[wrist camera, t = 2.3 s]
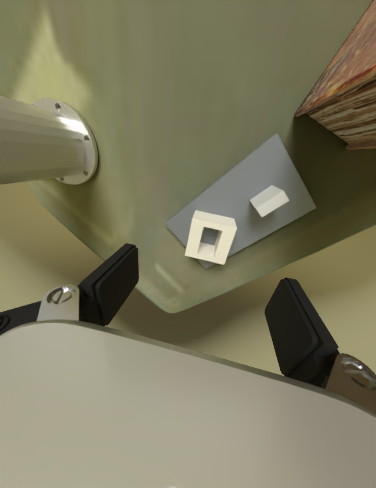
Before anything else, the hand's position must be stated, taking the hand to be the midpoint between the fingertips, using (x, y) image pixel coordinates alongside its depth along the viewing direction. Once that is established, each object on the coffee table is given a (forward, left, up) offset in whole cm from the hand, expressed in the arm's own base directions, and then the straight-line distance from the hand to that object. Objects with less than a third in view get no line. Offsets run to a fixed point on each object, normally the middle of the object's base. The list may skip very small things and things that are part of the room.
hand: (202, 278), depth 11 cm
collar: (-1, -5, -20) cm, 20 cm away
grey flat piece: (+4, -3, -21) cm, 22 cm away
